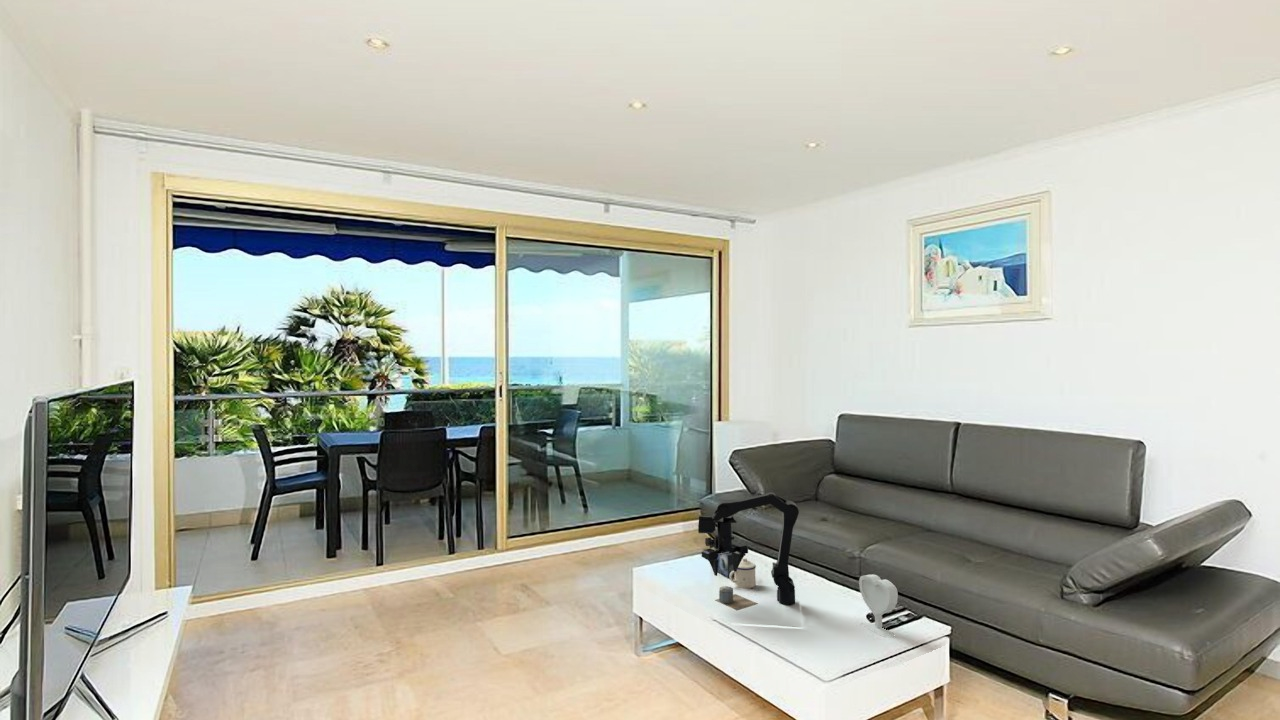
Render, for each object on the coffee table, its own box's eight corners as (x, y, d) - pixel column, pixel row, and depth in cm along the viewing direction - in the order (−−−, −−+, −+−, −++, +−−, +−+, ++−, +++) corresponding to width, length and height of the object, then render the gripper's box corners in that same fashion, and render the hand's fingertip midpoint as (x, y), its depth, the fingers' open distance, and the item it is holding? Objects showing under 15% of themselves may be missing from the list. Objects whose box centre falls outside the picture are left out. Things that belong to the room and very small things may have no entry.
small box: (715, 571, 304) (714, 548, 304) (727, 569, 307) (726, 546, 307) (727, 578, 294) (727, 554, 294) (740, 576, 297) (740, 552, 297)
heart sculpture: (858, 622, 244) (857, 572, 244) (869, 620, 246) (868, 570, 246) (888, 639, 230) (887, 586, 229) (900, 636, 231) (899, 584, 231)
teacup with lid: (747, 581, 291) (747, 554, 290) (760, 587, 282) (760, 559, 282) (724, 585, 285) (723, 558, 285) (736, 592, 277) (735, 564, 277)
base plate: (758, 605, 262) (758, 595, 262) (737, 612, 256) (736, 602, 256) (735, 596, 273) (735, 586, 273) (714, 602, 267) (714, 592, 267)
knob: (727, 597, 269) (727, 584, 269) (735, 601, 265) (735, 587, 265) (716, 600, 267) (716, 586, 267) (725, 604, 262) (725, 590, 262)
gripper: (731, 525, 277) (732, 564, 277) (693, 532, 268) (693, 571, 268) (748, 531, 267) (749, 571, 268) (709, 538, 258) (710, 579, 258)
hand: (725, 573), depth 266 cm, fingers open, 9 cm apart
